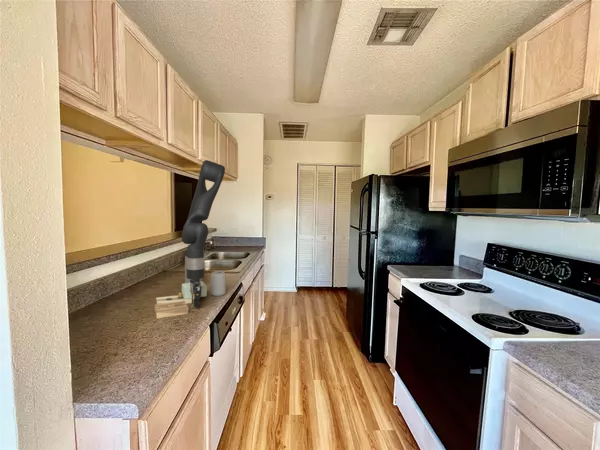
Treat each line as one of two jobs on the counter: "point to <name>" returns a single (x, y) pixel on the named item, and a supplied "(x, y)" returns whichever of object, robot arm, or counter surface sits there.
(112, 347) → the counter surface
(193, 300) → the peg
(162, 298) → the board
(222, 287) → the can
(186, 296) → the cover
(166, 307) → the socket board
